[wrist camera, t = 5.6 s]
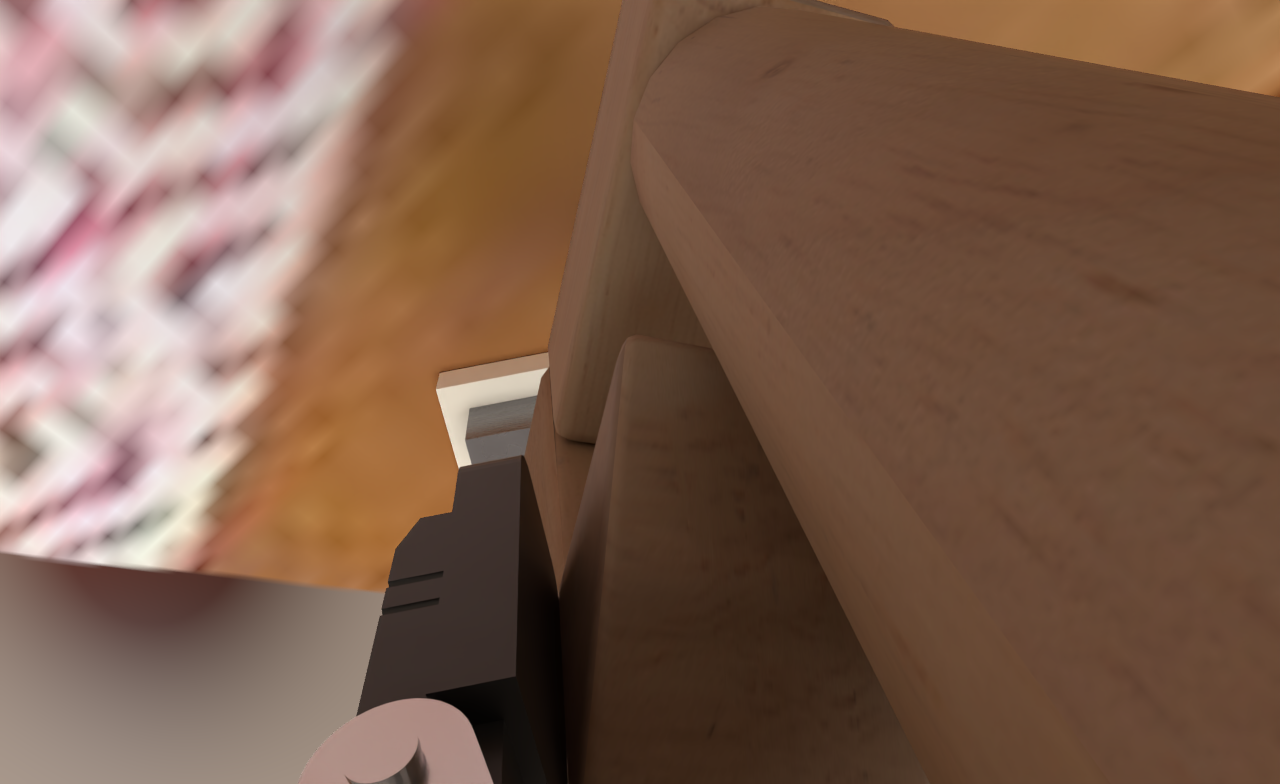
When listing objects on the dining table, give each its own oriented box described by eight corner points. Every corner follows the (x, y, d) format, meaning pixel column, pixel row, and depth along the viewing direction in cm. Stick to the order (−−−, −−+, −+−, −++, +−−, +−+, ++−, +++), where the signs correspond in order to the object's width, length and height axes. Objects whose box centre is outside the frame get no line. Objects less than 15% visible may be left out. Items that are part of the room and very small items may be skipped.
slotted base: (439, 372, 34) (428, 420, 30) (927, 279, 34) (973, 315, 31) (519, 654, 40) (518, 721, 36) (933, 571, 40) (972, 629, 37)
